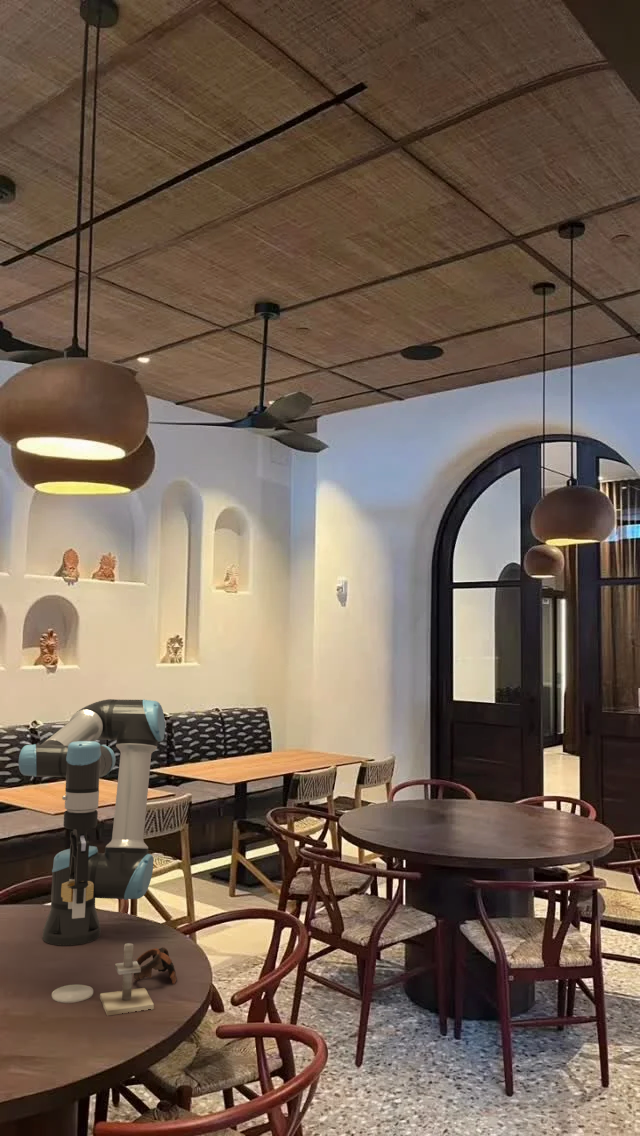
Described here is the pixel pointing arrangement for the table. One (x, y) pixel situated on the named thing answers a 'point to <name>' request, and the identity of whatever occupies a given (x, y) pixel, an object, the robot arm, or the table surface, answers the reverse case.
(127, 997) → the peg stand
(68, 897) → the c link
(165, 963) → the brown black curved arch
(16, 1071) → the table surface
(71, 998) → the coaster
